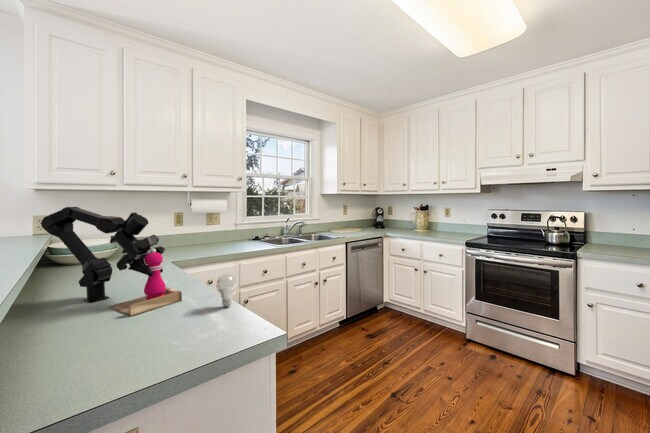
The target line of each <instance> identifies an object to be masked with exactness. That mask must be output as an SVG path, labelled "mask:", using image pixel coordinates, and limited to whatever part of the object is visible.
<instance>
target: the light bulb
mask: <svg viewBox="0 0 650 433" xmlns="http://www.w3.org/2000/svg"><path fill="white" fill-rule="evenodd" d="M215 284H216V289H217V291H218V293H219V294H220V298H221V305H223V306H224V308H229V307H230V306H231V305H232V304H233V302H232V300H233V299H232V297H233V294H234V292H235V290H236V287H237V280H236V277H235V276H234V275H232V274H230V273H223V274H222V275H220V276H219V277H218V278H217V280H216V283H215Z"/></svg>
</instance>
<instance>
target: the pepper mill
mask: <svg viewBox="0 0 650 433" xmlns="http://www.w3.org/2000/svg"><path fill="white" fill-rule="evenodd" d="M150 251H151V253H149V254H147V255H146V256H145V259H144V262H145V264H146V265H147V266H148V268H149V269H150V270H151V272H152V273H153V276H148V275H147V276H148V277H147V280H146V283H145V285H144V287H143V288H144V289H143V293H144V295H145V296H147V297H146V301H147V300H150V299H154V298H157V297H161V296H164V294H163V293H164V292H165V291H166V284H165V281H164V280H163V277H162V276H161V273H160V270H161V268H162V269H163V267H161V266H163V265H162V262H163V260H164V258H163V254H162V255H161V254H160V253H157V252H156V249H154V247H153V248H151V249H150Z"/></svg>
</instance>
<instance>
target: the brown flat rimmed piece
mask: <svg viewBox="0 0 650 433" xmlns="http://www.w3.org/2000/svg"><path fill="white" fill-rule="evenodd" d="M163 294H164V296H161V297H157V298H154V299H150V300H147V301H146V297H147V295H145V296H140V297H137V298H133V299H130V300H126V301H123V302H119V303H116V304H115V303H114V304H113V305H112V304H111V305H109V308H110V309H113V310H115V311H118V312H119V313H121V314H123V315H127V316H128V317H131V318H132V317H135V316H139V315H142V314H144V313H147V312H152V311H154V310H157V309H160V308H163V307H166V306H169V305H172V304H173V305H174V304H176V303H179V302H182V301H183V294H182V291H181V290H176V289H174V288H170V287H166V291H165V292H164V293H163Z"/></svg>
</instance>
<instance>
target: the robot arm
mask: <svg viewBox="0 0 650 433" xmlns="http://www.w3.org/2000/svg"><path fill="white" fill-rule="evenodd" d="M76 221H78V222H82V223H85V224H89V225H91V226H94V227H95V228H96V229H97V231H100V232H102V233H103V234H107V235H108V234H113V233H115V234H114V235H111V236H110V240H109V244H115V243H117V244H118V245H119V246H120V248H121V249H122V251H121V252H122V254H123V255H122V257H120V259H119V260H118V261H117V262H116V268H117V269H118V270H119V271H123V270H127V269H128V271H130V270H131V271H135V272H136V273H140V274H143V275H146V276H153V273H152V272H151V270H150V269H149V268H148V266H147V265H146V264H145V262H144V259H145V256H146V255H147V254H149V253H151V249H152V248H151V247H153V246H155V245H157V246H155V247H153V248H154V249H156V252H157V253H160V254H161V255H162V256H163V253H165V251H166V249H165V248H164V246H162V245H161V246H158V244H159V242H160V238H159V237H158V236H157V235H155V234H151V235H150V236H147V237H145V238H143V239H138V238H137V237H136V236H138V235H140V234H141V233H142V231H143V230H144V229H145V228H146V227H147V226H148V225H149V220H148V219H147V218H146V217H144V216H143V215H141V214H139V213H137V212H131V213H130V214H129V216H128V217H127V218H126V219H124V218H123V217H120V216H114V215H102V214H99V213H95V212H94V211H93V212H92V211H91V210H90V211H89V210H86V209H83V208H80V207H78V206H65V207H64V208H62V209H60V210H58V211H56V212H53V213H50V214H49V215H46V216H44V217H43V218H42V220H41V222H40V223H41V227H42V229H43V230H44V231H45V232H47V233H48V234H49V235H51V236H54V237H56V238H59V240H60V241H61V242H62V243H63V244H64V245H65V246H66V248H67V249H68V251H70V252H71V254H72V255H73V256H74V257H75V258H76V260H77V261H78V262H79V263H80V265H81V267H82V270H81V271H82V272H81V273H82V274H83V275H82V277H80V279H79V280H78V285H79V287H81V288H86V297H85V298H83V301H85V302H87V303H89V304H91V303H95V302H100V301H103V300H107V299H110V296H108V295H106V286H105V283H107V282H110V280H111V278H112V275H113V267H112V264H111V263H109V261H108V260H107V259H106V257H100V258H99V257H96V256H95V254H94V253H93V252H92V251H91V250H90V248H89V247H88V246H87V245H86V244H85V243H84V242H83V240H82V239H81V238H80V237H79V236H78V234H76V232H75V231H74V223H75V222H76ZM128 266H129V267H128ZM162 266H163V265H162ZM162 266H161V267H162ZM163 271H164V269H163V267H162V268H161V270H160V274H161V273H163Z"/></svg>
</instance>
